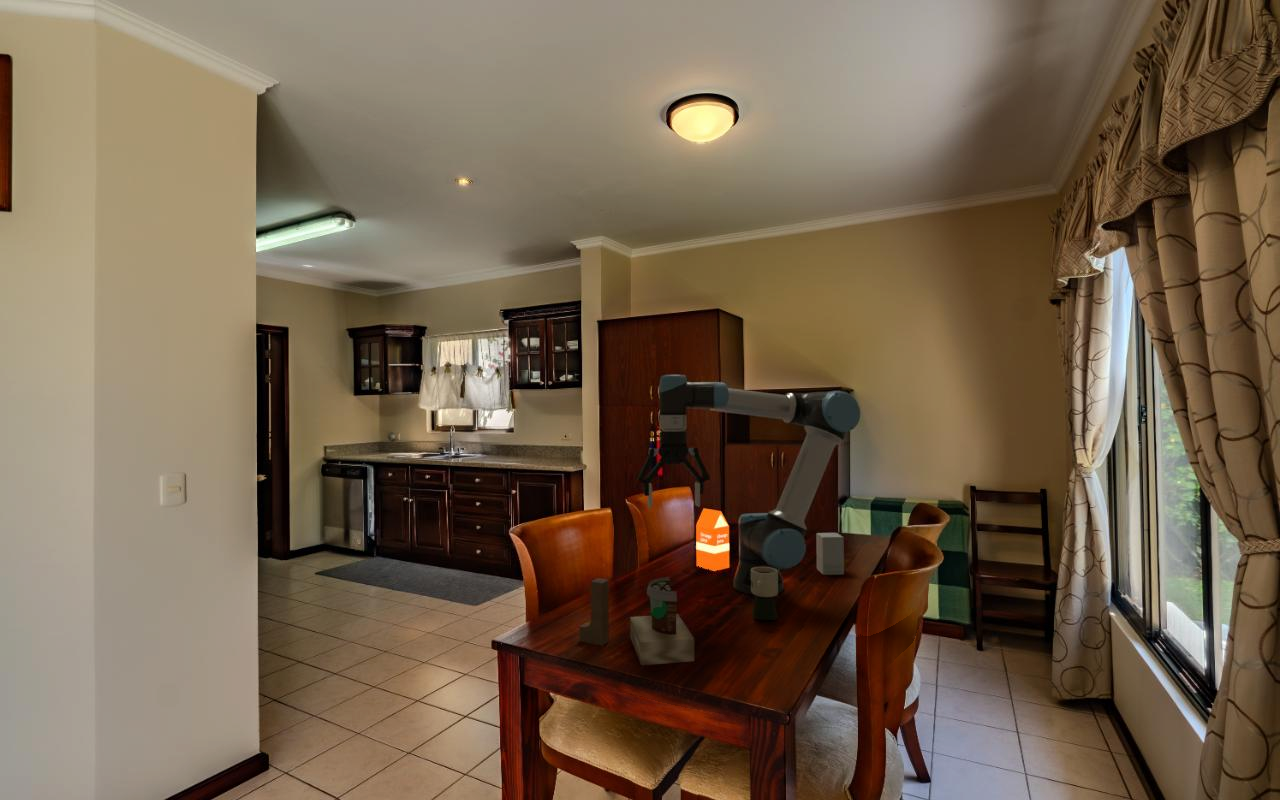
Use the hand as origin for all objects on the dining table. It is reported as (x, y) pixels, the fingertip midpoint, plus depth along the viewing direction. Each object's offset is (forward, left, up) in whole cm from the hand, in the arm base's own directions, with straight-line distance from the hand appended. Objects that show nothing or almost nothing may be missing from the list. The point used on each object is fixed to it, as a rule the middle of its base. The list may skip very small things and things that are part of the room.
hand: (673, 506), depth 167 cm
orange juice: (-23, -41, -29) cm, 55 cm away
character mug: (-22, +11, -29) cm, 38 cm away
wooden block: (+24, +18, -29) cm, 42 cm away
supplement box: (-60, -27, -29) cm, 72 cm away
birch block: (+9, +25, -29) cm, 39 cm away
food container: (+9, +25, -24) cm, 36 cm away
